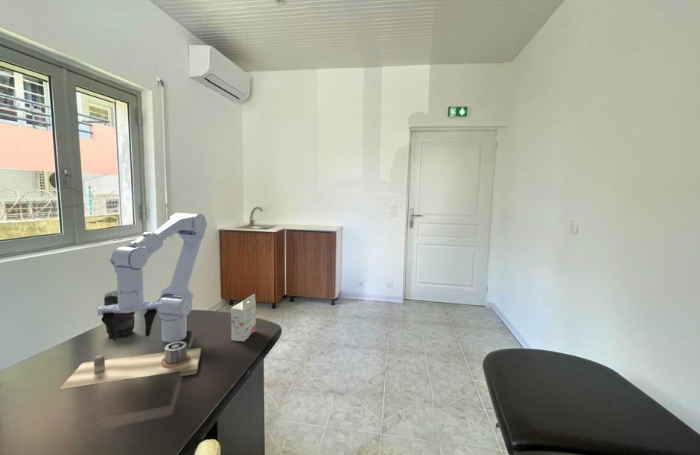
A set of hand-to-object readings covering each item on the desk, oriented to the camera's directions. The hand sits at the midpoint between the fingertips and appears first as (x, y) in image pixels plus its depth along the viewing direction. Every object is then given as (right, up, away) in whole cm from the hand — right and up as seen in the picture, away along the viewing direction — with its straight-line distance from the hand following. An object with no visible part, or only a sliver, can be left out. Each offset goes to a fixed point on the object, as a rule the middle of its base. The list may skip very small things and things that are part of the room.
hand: (132, 336), depth 84 cm
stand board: (+2, -10, 0) cm, 10 cm away
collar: (+11, -8, +3) cm, 13 cm away
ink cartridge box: (+23, -8, +23) cm, 34 cm away
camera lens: (-18, -7, +20) cm, 28 cm away
